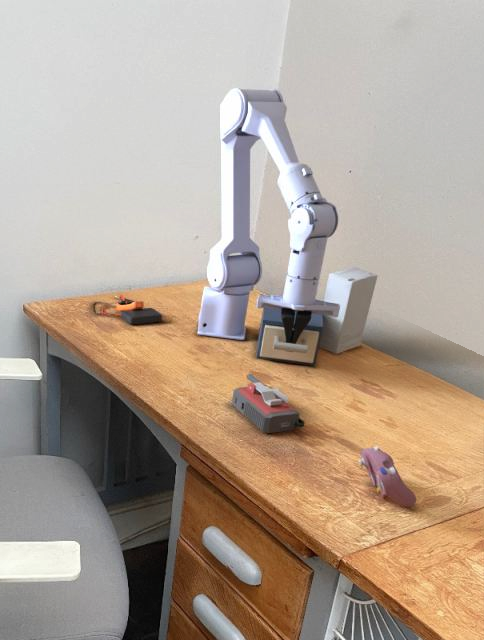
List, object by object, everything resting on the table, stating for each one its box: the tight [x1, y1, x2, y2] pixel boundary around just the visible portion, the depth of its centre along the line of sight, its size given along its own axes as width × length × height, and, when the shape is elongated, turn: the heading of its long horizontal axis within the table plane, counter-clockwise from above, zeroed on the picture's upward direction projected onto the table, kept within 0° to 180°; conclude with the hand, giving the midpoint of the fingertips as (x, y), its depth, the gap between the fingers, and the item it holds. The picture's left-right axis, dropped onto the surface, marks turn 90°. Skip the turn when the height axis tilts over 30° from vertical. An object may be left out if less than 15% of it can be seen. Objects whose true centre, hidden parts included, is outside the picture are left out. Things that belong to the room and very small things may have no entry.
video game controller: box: [358, 445, 417, 508], centre depth 108 cm, size 10×5×7 cm, turn 5°
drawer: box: [260, 324, 319, 363], centre depth 148 cm, size 16×10×6 cm, turn 169°
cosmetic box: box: [319, 266, 379, 355], centre depth 153 cm, size 8×6×15 cm
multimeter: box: [92, 294, 163, 325], centre depth 166 cm, size 18×12×3 cm, turn 21°
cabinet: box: [255, 308, 323, 367], centre depth 151 cm, size 13×11×8 cm
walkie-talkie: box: [231, 373, 306, 434], centre depth 129 cm, size 9×4×20 cm
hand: (289, 350), depth 144 cm, fingers closed, pressing on drawer
